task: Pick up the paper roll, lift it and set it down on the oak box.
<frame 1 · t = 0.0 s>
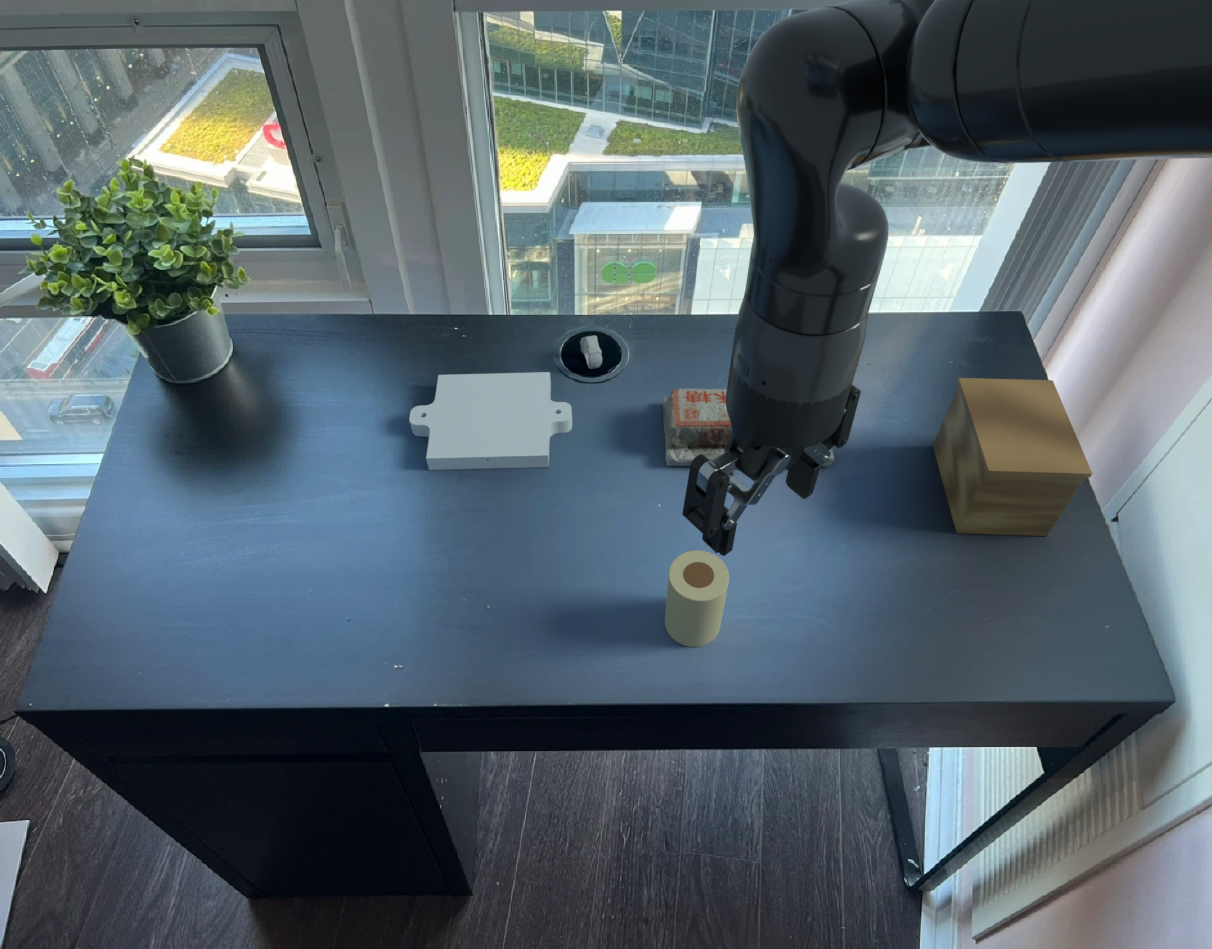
hand: (759, 517, 64), 18 cm above the table, tool pointing down, fingers open, 8 cm apart
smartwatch: (592, 365, 102), on the table
oak box: (987, 488, 88), on the table
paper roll: (692, 622, 78), on the table
packaged product: (744, 436, 94), on the table
mounting plate: (492, 426, 95), on the table
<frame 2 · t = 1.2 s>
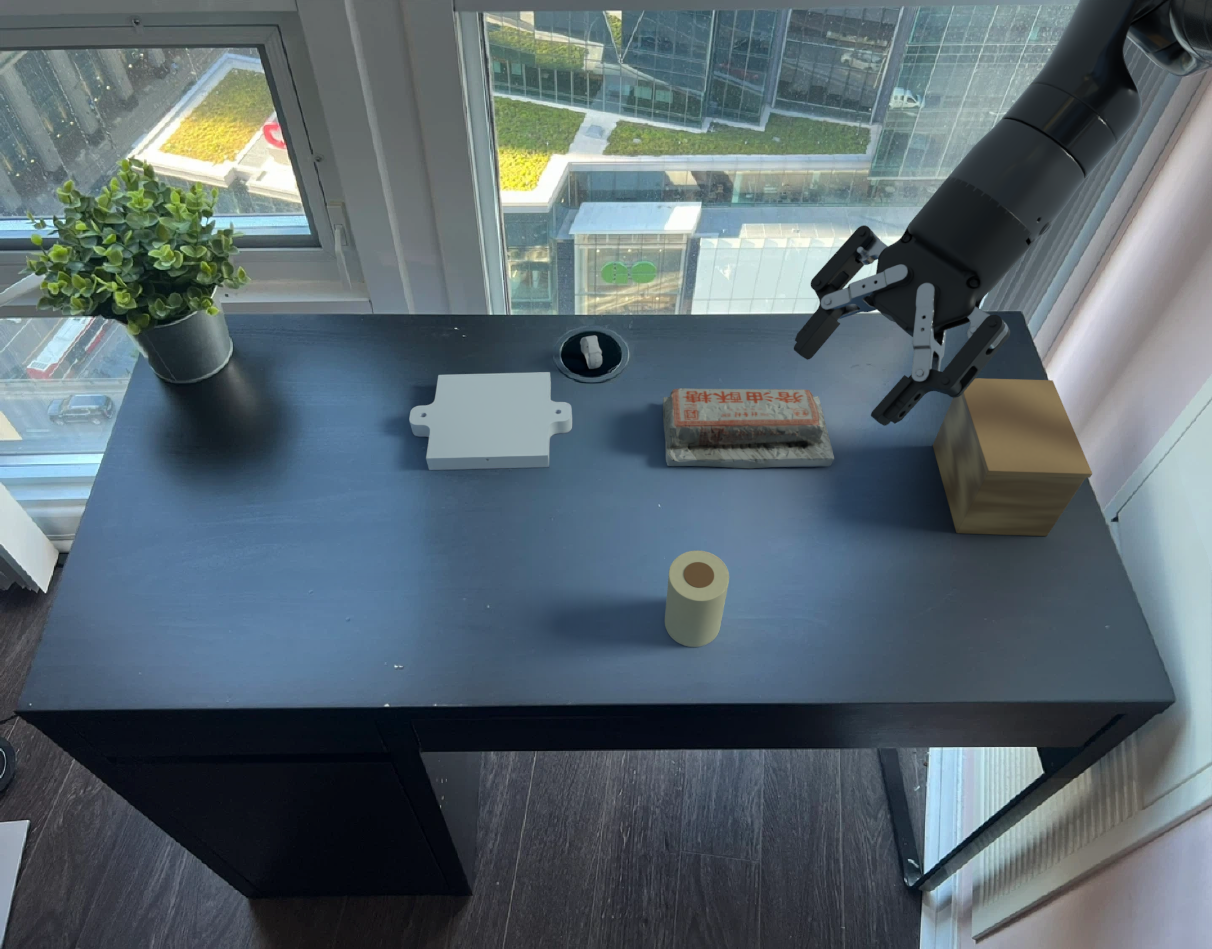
hand: (837, 386, 64), 24 cm above the table, tool tilted 45°, fingers open, 8 cm apart
nothing on the table moved.
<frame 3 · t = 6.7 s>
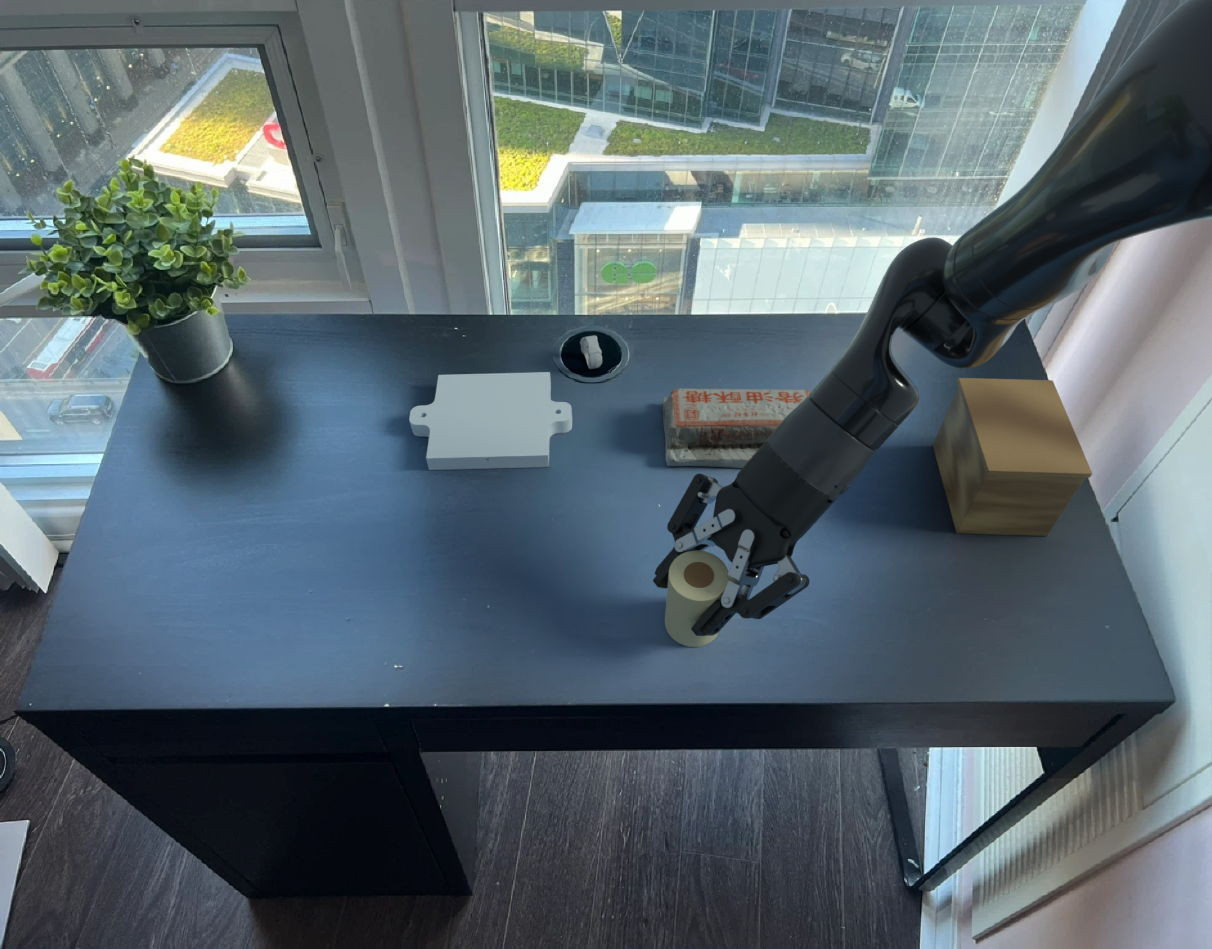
hand: (679, 608, 75), 4 cm above the table, tool tilted 45°, fingers closed on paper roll, 5 cm apart
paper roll: (692, 622, 78), on the table, touching gripper
everything else where it was.
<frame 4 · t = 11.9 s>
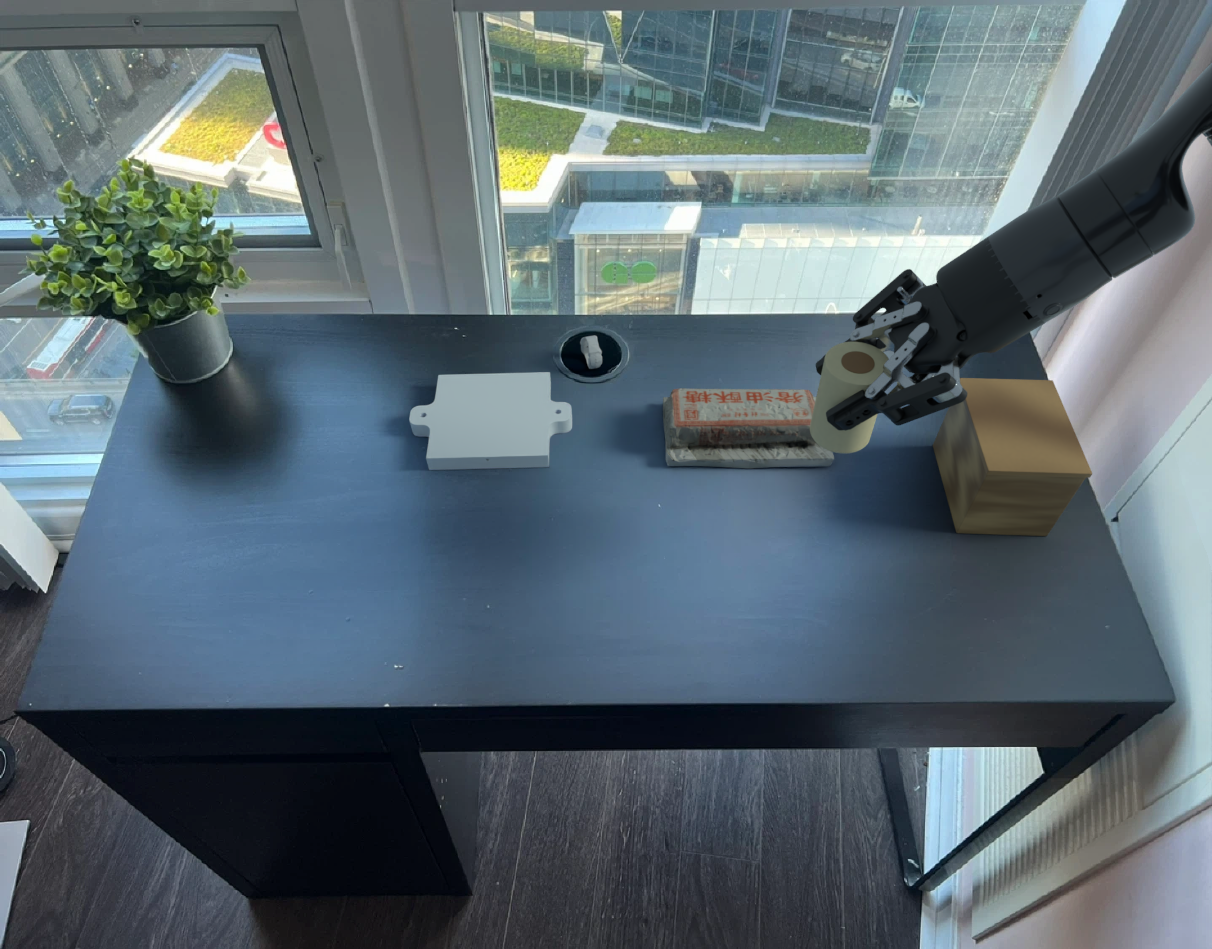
hand: (827, 397, 70), 19 cm above the table, tool tilted 45°, fingers closed on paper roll, 5 cm apart
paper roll: (839, 431, 73), point 15 cm above the table, touching gripper
everything else where it was.
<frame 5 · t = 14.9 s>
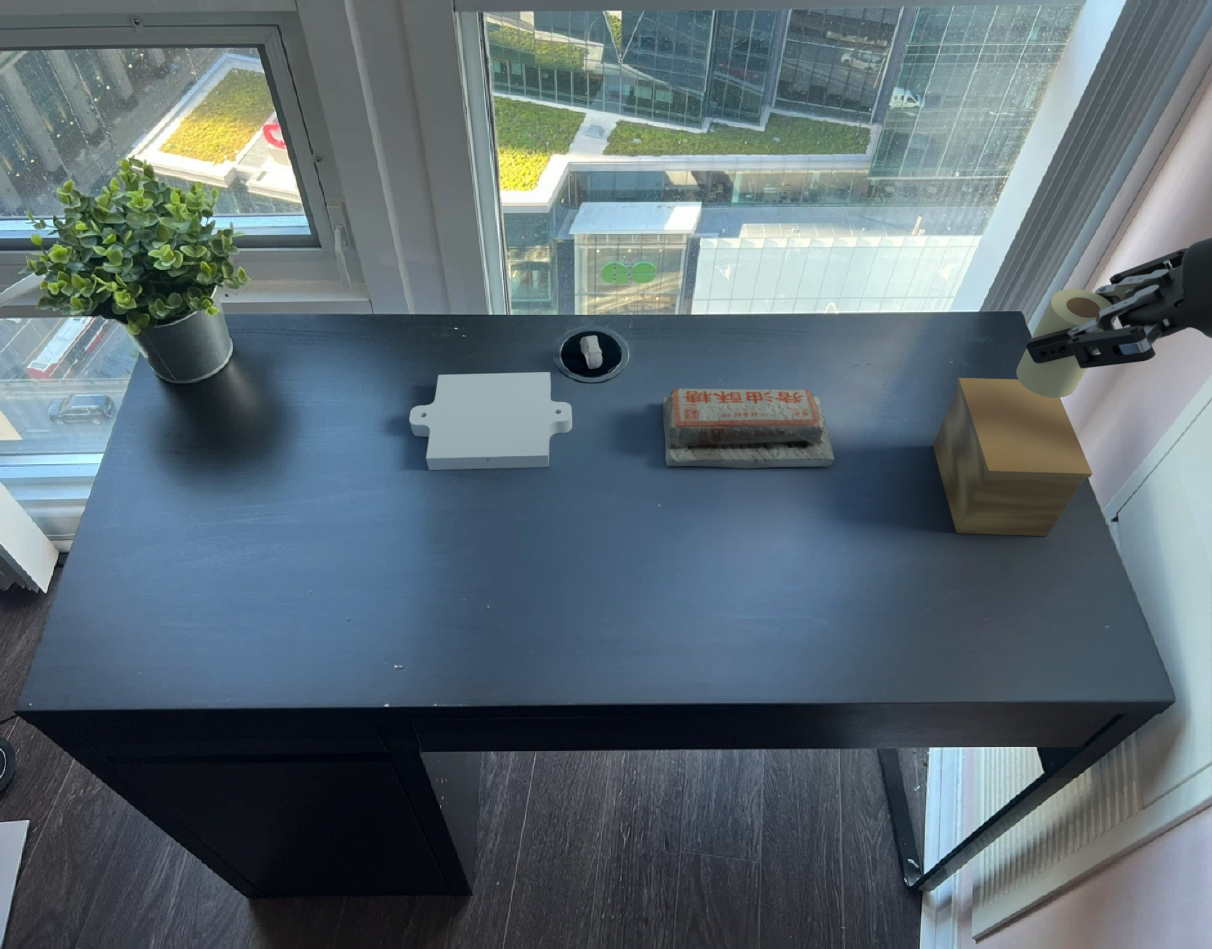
hand: (1044, 334, 74), 20 cm above the table, tool tilted 45°, fingers closed on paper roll, 5 cm apart
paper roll: (1046, 377, 76), point 16 cm above the table, touching gripper
everything else where it was.
when the fingers open (14 cm above the table, at t = 17.1 s): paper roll stays where it is, resting on oak box.
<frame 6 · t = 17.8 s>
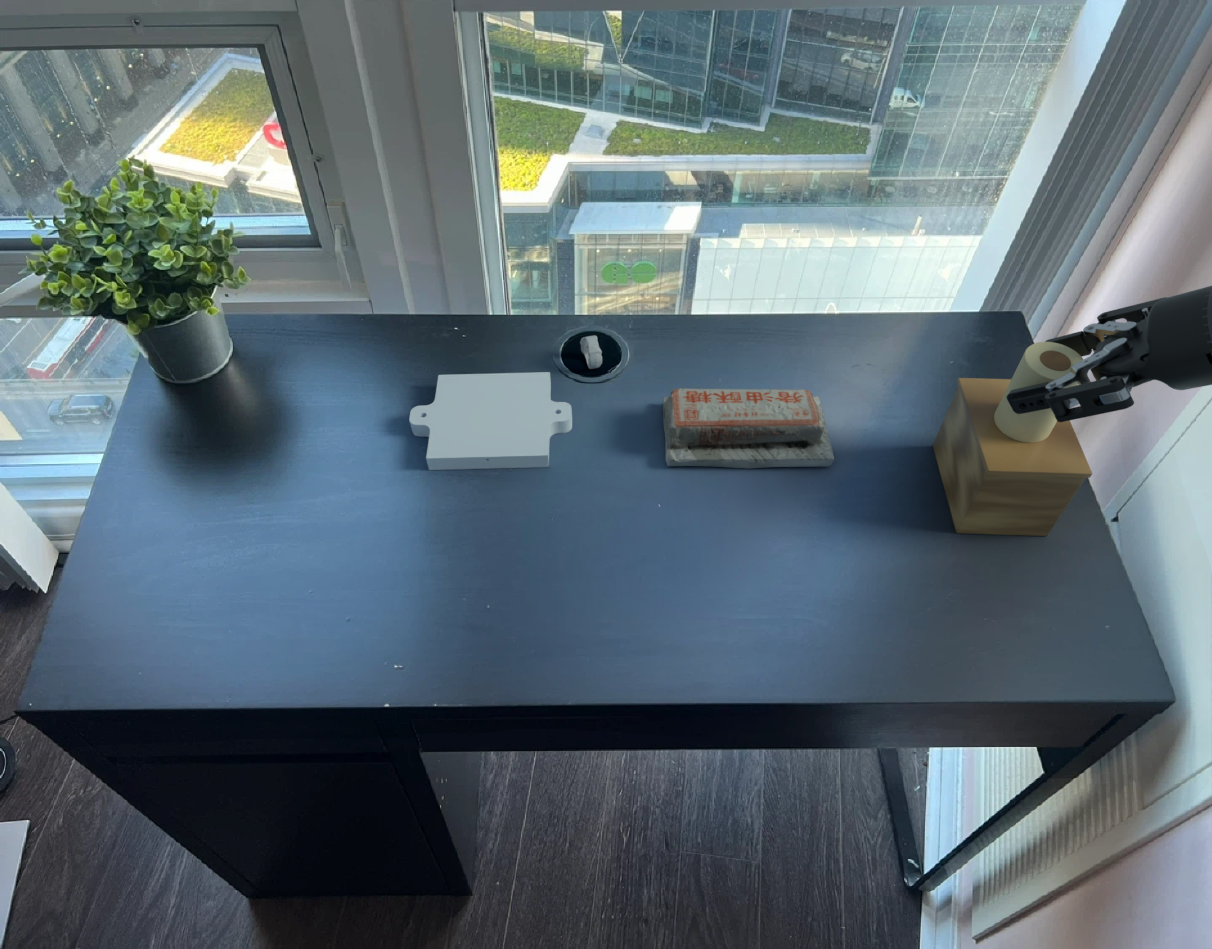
hand: (1029, 377, 77), 15 cm above the table, tool tilted 45°, fingers open, 8 cm apart
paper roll: (1022, 423, 81), point 10 cm above the table, touching oak box
everything else where it was.
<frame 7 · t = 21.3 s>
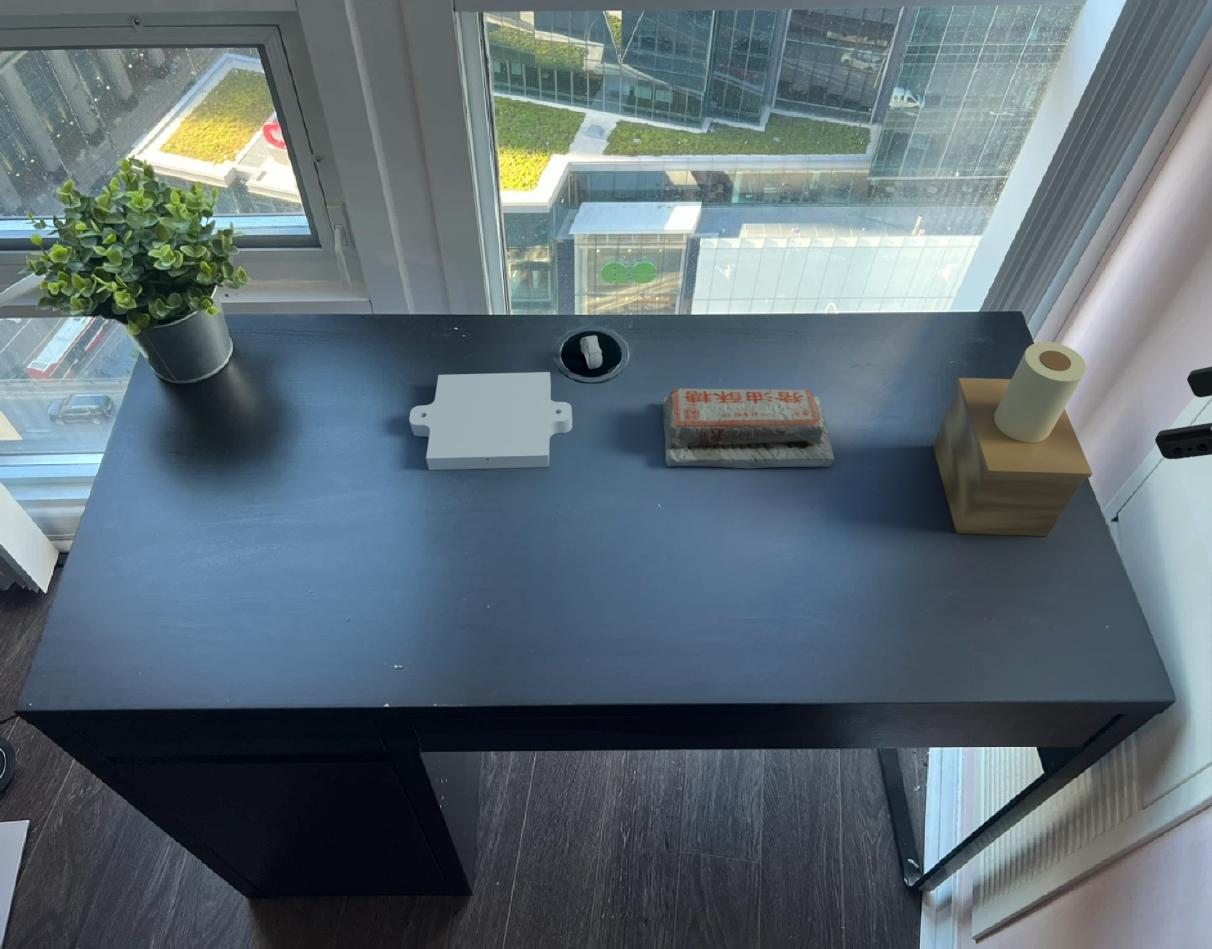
hand: (1176, 414, 65), 22 cm above the table, tool tilted 45°, fingers open, 8 cm apart
nothing on the table moved.
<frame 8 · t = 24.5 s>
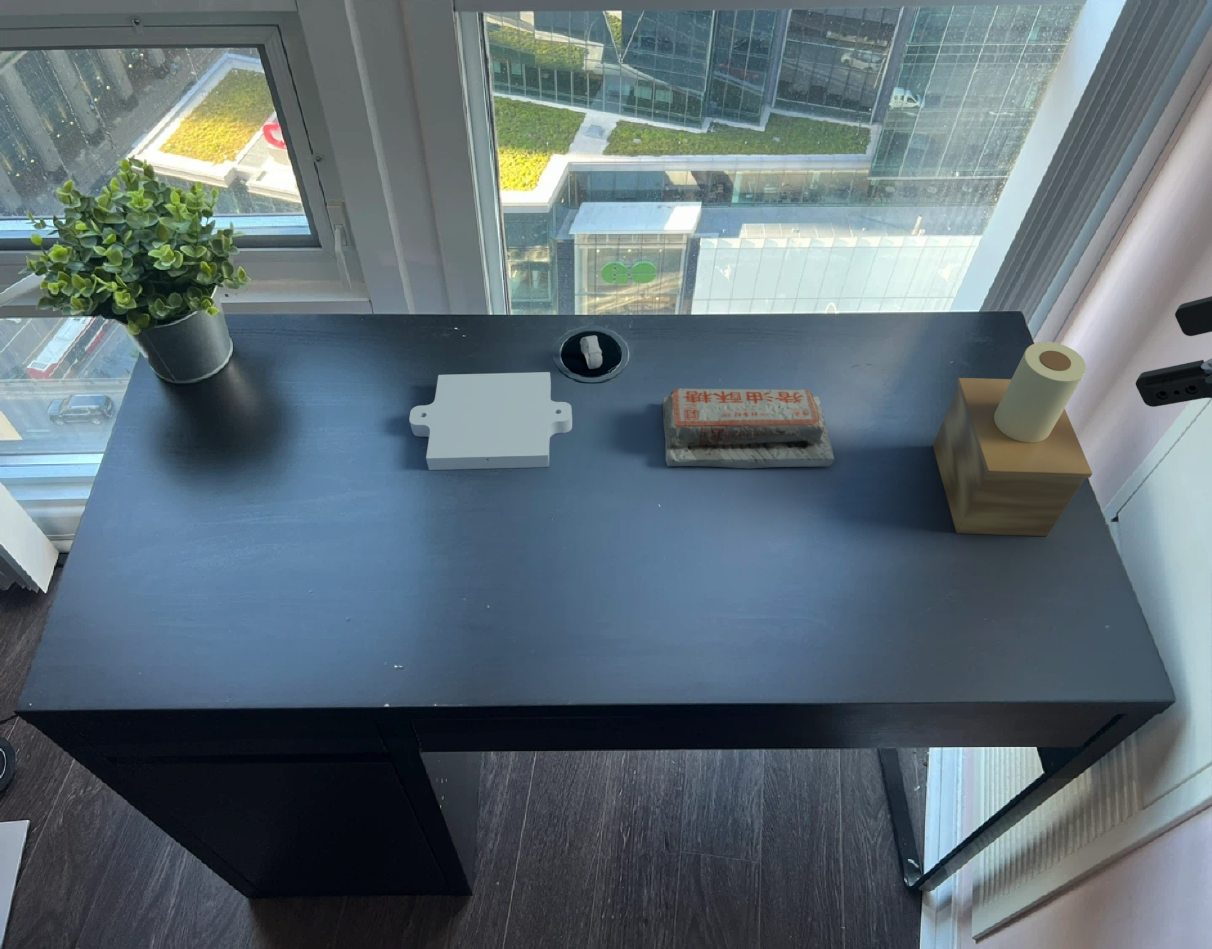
hand: (1161, 355, 55), 32 cm above the table, tool tilted 45°, fingers open, 8 cm apart
nothing on the table moved.
at the end: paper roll inside the target area on the oak box (0.0 cm from its centre), point 10.0 cm above the oak box's base; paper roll tilted 0°; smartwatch moved 0.2 cm from its start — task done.
